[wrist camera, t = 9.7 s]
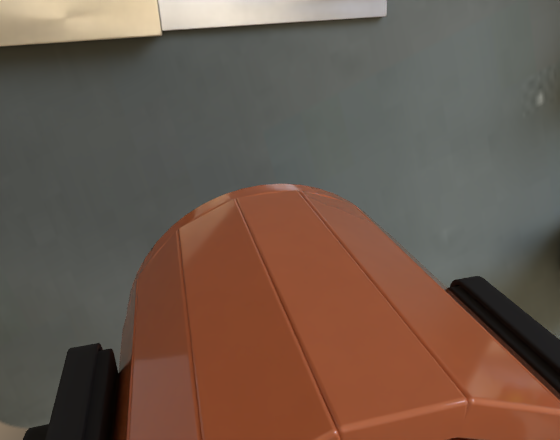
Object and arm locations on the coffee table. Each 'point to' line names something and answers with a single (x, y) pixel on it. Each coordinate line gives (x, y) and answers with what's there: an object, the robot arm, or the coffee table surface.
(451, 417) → the pot
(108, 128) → the coffee table surface
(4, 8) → the knife
